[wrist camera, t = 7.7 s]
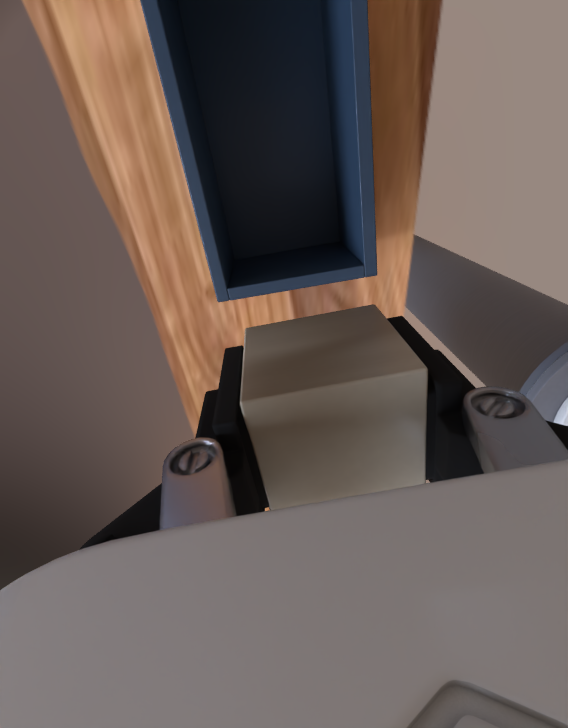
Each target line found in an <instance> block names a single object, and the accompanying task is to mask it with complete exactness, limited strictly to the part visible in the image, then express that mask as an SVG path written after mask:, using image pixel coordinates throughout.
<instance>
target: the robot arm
mask: <svg viewBox="0 0 568 728" xmlns="http://www.w3.org/2000/svg"><path fill="white" fill-rule="evenodd" d="M387 320H388V321H389V322H390V324H391V325H392V326H393V327H394V328H395V330H396V331H397V332H398V333H399V334H400V336H401V337H402V338H403V339H404V340H405V342H406V343H407V344H408V345H409V347H410V348H411V349H412V350H413V351H414V353H415V354H416V355H417V356H418V357H419V359H420V360H421V361H422V362H423V363H424V365H425V366H426V367H427V369H428V390H427V422H426V475H425V477H426V480H429V481H430V483H426V484H420V485H414V486H408V487H402V488H397V489H391V490H385V491H379V492H373V493H368V494H362V495H356V496H350V497H344V498H339V499H333V500H327V501H321V502H316V503H310V504H304V505H298V506H293V507H287V508H281V509H275V510H270V511H265V508H267V507H269V502H268V499H267V495H266V492H265V488H264V484H263V481H262V477H261V474H260V470H259V467H258V463H257V460H256V456H255V453H254V449H253V445H252V442H251V438H250V435H249V431H248V429H247V427H246V424H245V421H244V417H243V414H242V410H241V406H240V393H241V379H242V365H243V352H244V348H243V346H237V347H231V348H226V349H225V353H224V359H223V365H222V370H221V376H220V382H219V388H218V389H217V390H212V391H207V392H206V394H205V398H204V402H203V407H202V411H201V416H200V420H199V425H198V429H197V434H196V438H195V439H191V440H189V441H186V442H184V443H182V444H180V445H179V446H177V447H175V448H174V449H173V450H172V451H171V452H170V453H169V454H168V456H167V457H166V459H165V460H164V464H163V473H162V483H161V484H160V485H159V486H158V487H156V488H155V489H154V490H152V491H151V492H150V493H148V494H147V495H146V496H145V497H143V498H142V499H141V500H140V501H138V502H137V503H136V504H134V505H133V506H132V507H130V508H129V509H128V510H127V511H125V512H124V513H123V514H121V515H120V516H119V517H118V518H116V519H115V520H114V521H112V522H111V523H110V524H109V525H107V526H106V527H105V528H104V529H102V530H101V531H100V532H98V533H97V534H96V535H94V536H93V537H92V538H91V539H89V540H88V541H87V542H86V543H85V544H84V545H83V546H82V547H81V548H80V549H79V551H76V552H73V553H71V554H68V555H66V556H63V557H60V558H58V559H55V560H53V561H51V562H49V563H47V564H45V565H43V566H41V567H39V568H37V569H35V570H33V571H31V572H29V573H27V574H26V575H24V576H22V577H20V578H19V579H17V580H15V581H14V582H12V583H11V584H9V585H8V586H6V587H5V588H3V589H2V590H0V728H568V397H567V399H566V400H565V401H564V402H563V404H562V406H561V407H560V409H559V410H558V412H557V415H556V417H555V419H554V422H550V421H546V420H545V419H544V418H543V417H542V415H541V414H540V413H539V411H538V410H537V409H536V407H535V406H534V405H533V403H532V402H531V401H530V400H529V399H528V398H527V397H526V396H524V395H522V394H521V393H519V392H517V391H514V390H511V389H508V388H502V387H489V386H487V387H481V388H475V387H474V386H473V385H472V384H471V383H470V382H469V381H468V379H467V378H466V377H465V376H464V375H463V374H462V373H461V372H460V371H459V370H458V369H457V368H456V367H455V366H454V365H453V364H452V363H451V362H450V361H449V360H448V359H447V358H446V357H445V356H444V355H443V354H442V353H441V352H440V351H439V350H434V349H433V348H432V347H431V346H430V345H429V344H428V343H427V342H426V341H425V340H424V339H423V338H422V336H421V335H420V334H419V333H418V332H417V331H416V330H415V329H414V328H413V327H412V326H411V325H410V324H409V323H408V321H407V320H406V319H405V318H404V317H403V316H398V317H393V318H387Z"/></svg>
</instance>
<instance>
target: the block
mask: <svg viewBox="0 0 568 728" xmlns="http://www.w3.org/2000/svg"><path fill="white" fill-rule="evenodd" d="M427 390H428V369H427V367H426V366H425V365H424V363H423V362H422V361H421V360H420V359H419V357H418V356H417V355H416V354H415V353H414V351H413V350H412V349H411V348H410V347H409V345H408V344H407V343H406V342H405V340H404V339H403V338H402V337H401V336H400V334H399V333H398V332H397V331H396V330H395V328H394V327H393V326H392V325H391V324H390V322H389V321H388V320H387V319H386V317H385V316H384V315H383V314H382V313H381V311H380V310H379V309H378V308H377V307H376V305H368V306H362V307H357V308H352V309H346V310H341V311H336V312H330V313H325V314H320V315H314V316H309V317H303V318H298V319H293V320H287V321H282V322H277V323H271V324H266V325H261V326H255V327H250V328H246V329H245V338H244V352H243V365H242V379H241V393H240V406H241V410H242V414H243V417H244V421H245V424H246V427H247V429H248V431H249V435H250V438H251V442H252V445H253V449H254V453H255V456H256V460H257V463H258V467H259V470H260V474H261V477H262V481H263V484H264V488H265V492H266V495H267V499H268V502H269V509H270V510H275V509H281V508H287V507H293V506H298V505H304V504H310V503H316V502H321V501H327V500H333V499H339V498H344V497H350V496H356V495H362V494H368V493H373V492H379V491H385V490H391V489H397V488H402V487H408V486H414V485H420V484H426V477H425V475H426V422H427Z"/></svg>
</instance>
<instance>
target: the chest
mask: <svg viewBox="0 0 568 728" xmlns="http://www.w3.org/2000/svg"><path fill="white" fill-rule="evenodd" d="M140 1H141V5H142V9H143V13H144V17H145V21H146V25H147V29H148V32H149V36H150V40H151V44H152V48H153V52H154V56H155V60H156V64H157V68H158V71H159V75H160V79H161V83H162V87H163V91H164V95H165V99H166V103H167V106H168V110H169V114H170V118H171V122H172V126H173V130H174V134H175V138H176V141H177V145H178V149H179V153H180V157H181V161H182V165H183V169H184V173H185V177H186V180H187V184H188V188H189V192H190V196H191V200H192V204H193V208H194V212H195V215H196V219H197V223H198V227H199V231H200V235H201V239H202V243H203V247H204V250H205V254H206V258H207V262H208V266H209V270H210V274H211V278H212V282H213V286H214V289H215V293H216V297H217V301H218V302H223V301H229V300H236V299H242V298H247V297H253V296H259V295H265V294H271V293H277V292H282V291H288V290H294V289H300V288H306V287H311V286H317V285H323V284H329V283H335V282H341V281H346V280H352V279H358V278H364V277H370V276H376V275H377V253H376V225H375V197H374V169H373V142H372V114H371V86H370V58H369V30H368V3H367V0H140Z"/></svg>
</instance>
